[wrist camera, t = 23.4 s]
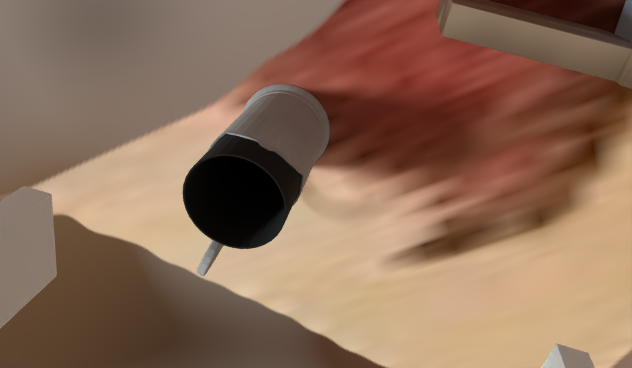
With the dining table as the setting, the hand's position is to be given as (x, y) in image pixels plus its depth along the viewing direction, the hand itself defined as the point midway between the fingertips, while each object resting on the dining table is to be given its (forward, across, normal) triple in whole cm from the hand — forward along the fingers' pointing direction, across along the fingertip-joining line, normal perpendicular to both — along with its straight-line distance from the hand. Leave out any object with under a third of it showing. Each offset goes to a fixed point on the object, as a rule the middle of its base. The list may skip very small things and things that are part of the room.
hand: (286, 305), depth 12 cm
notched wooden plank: (+33, +12, +5) cm, 35 cm away
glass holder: (+33, -7, -12) cm, 36 cm away
